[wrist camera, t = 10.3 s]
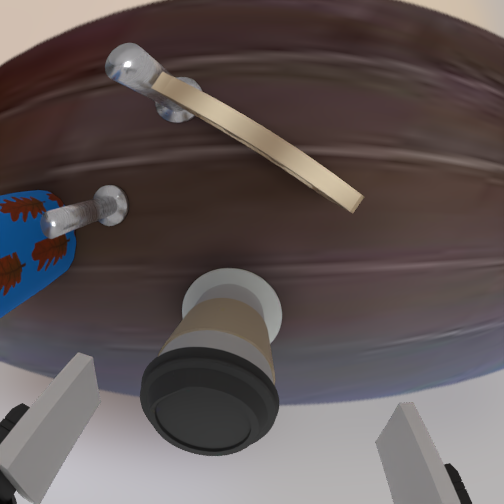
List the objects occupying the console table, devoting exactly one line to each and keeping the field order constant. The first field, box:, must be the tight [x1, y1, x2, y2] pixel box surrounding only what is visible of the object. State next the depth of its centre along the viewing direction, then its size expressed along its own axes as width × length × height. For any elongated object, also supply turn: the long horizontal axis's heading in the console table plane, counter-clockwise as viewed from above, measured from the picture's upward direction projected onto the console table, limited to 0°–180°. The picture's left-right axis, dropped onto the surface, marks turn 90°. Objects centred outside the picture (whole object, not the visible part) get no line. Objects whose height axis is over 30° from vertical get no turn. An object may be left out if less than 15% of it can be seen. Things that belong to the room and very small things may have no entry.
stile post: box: [40, 185, 129, 239], centre depth 23 cm, size 4×4×10 cm
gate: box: [152, 72, 364, 213], centre depth 20 cm, size 14×1×9 cm, turn 57°
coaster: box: [182, 268, 282, 343], centre depth 30 cm, size 10×10×1 cm
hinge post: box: [105, 43, 203, 123], centre depth 19 cm, size 4×4×12 cm
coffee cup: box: [140, 284, 279, 456], centre depth 22 cm, size 9×9×15 cm
